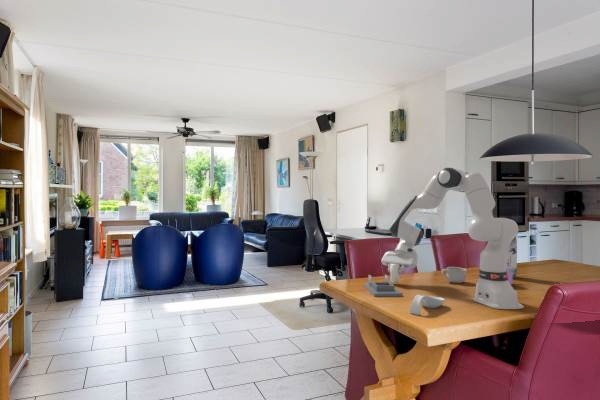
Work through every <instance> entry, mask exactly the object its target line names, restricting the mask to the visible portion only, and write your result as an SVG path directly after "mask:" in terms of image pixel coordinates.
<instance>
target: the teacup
mask: <svg viewBox="0 0 600 400" xmlns="http://www.w3.org/2000/svg"><path fill="white" fill-rule="evenodd" d="M444 272H445V273H444ZM445 274H446V275H445ZM441 275H442V276H443V277H444V278H445V279H446V280H448V281H449V282H450V283H453V284H462V283H464V282H465V281H466V278H467V269H466V268H463V267H459V266H447V267H446V268H442V270H441Z"/></svg>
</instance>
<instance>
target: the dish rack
mask: <svg viewBox="0 0 600 400" xmlns="http://www.w3.org/2000/svg"><path fill="white" fill-rule="evenodd" d="M372 277H373V276H372V275H371V274H368V282H363V287H364V288H365V289H366V290H367V291H368V292H369V293H370V294H371V295H372V296H373V297H376V298H380V297H382V298H383V297H384V298H385V297H387V298H388V297H403V296H404V295H403V294H404V293H403V292H402V291H400V290H399V289H397V288H396V287H395V285H394V283H391V282H390V281H389V275H387V274H384V281H372V279H373V278H372Z"/></svg>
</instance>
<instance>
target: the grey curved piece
mask: <svg viewBox="0 0 600 400" xmlns="http://www.w3.org/2000/svg"><path fill="white" fill-rule="evenodd" d="M445 302H446V300H445V298H443V297H439V296H432V295H420V294H416V295H415V297H414V298H413V300H412V302H411V304H410V308H409V314H411V315H416V316H422V313H421V311H422V310H421V306H423V307H424V308H430V309H436V308H438V307H440V306H443V304H444V303H445Z"/></svg>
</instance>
